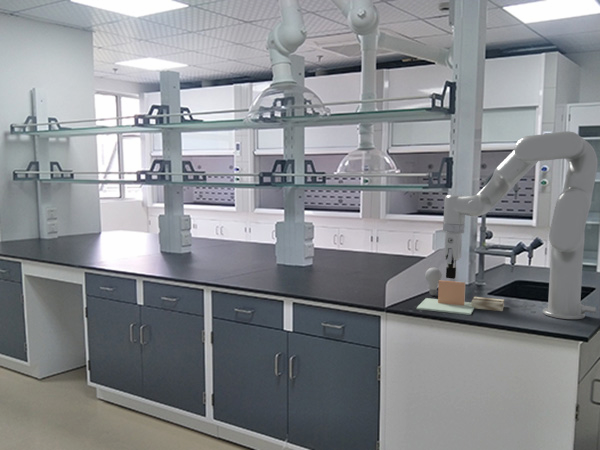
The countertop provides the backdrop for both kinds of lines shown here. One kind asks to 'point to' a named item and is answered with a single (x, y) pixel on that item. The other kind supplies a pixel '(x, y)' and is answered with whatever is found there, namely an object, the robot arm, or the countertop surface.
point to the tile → (451, 292)
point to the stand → (488, 303)
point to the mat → (446, 307)
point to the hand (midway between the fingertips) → (450, 277)
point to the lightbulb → (433, 279)
